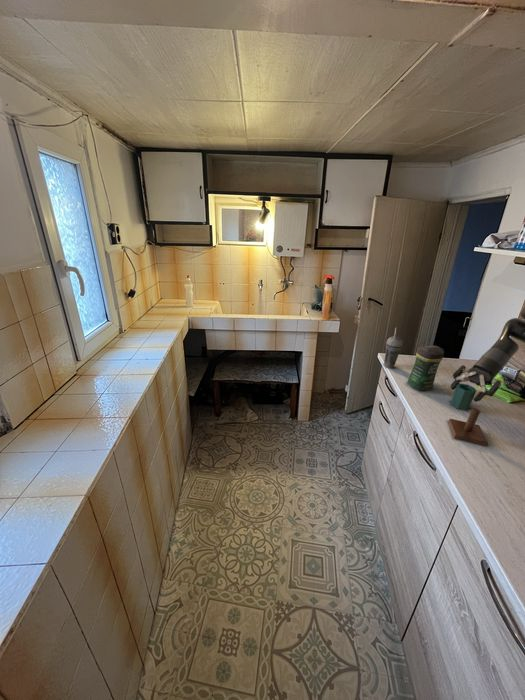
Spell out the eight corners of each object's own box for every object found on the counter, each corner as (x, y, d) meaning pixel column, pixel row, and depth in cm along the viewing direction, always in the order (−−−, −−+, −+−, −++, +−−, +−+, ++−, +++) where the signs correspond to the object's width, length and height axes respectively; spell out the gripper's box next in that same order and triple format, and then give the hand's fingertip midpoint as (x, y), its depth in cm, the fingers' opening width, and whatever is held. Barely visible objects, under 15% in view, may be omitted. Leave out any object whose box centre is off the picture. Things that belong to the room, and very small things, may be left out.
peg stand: (477, 428, 97) (488, 405, 93) (486, 446, 89) (497, 422, 85) (448, 421, 100) (456, 399, 96) (454, 438, 92) (463, 414, 88)
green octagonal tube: (466, 402, 111) (473, 385, 107) (470, 411, 106) (478, 393, 102) (449, 399, 113) (456, 382, 109) (452, 407, 108) (459, 389, 104)
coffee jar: (417, 392, 116) (430, 352, 108) (403, 383, 123) (415, 344, 115) (435, 389, 119) (449, 350, 111) (421, 380, 126) (433, 342, 118)
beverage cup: (399, 369, 134) (410, 330, 126) (384, 369, 134) (394, 330, 126) (392, 362, 141) (402, 325, 132) (378, 362, 141) (387, 324, 132)
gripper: (514, 376, 103) (484, 409, 103) (473, 359, 115) (447, 389, 115) (512, 366, 99) (481, 400, 99) (470, 350, 110) (442, 380, 110)
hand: (462, 394), depth 107 cm, fingers open, 8 cm apart
